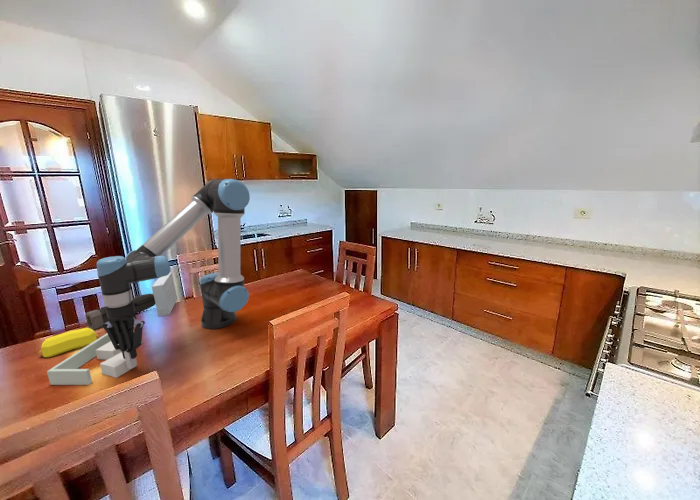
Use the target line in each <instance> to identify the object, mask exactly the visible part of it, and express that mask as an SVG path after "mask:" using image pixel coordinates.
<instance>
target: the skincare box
mask: <svg viewBox="0 0 700 500" xmlns="http://www.w3.org/2000/svg"><path fill="white" fill-rule="evenodd" d="M151 289H152V294H154V299H155V303H156V304H155V306H156V311H157V315H158V317H163V316H169V315H170V314H171V312H172V310H173V309H174V307H175V304H176V302H177V301H178V295H177V291H176V286H175V281H174V276H173V272H171V271H170V273H169V274H168V275H167V276H163V277H160V278H156V280H155V281H154V283H153V285H152V286H151Z"/></svg>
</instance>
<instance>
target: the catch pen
mask: <svg viewBox="0 0 700 500" xmlns="http://www.w3.org/2000/svg"><path fill="white" fill-rule="evenodd" d="M110 341H111V340H110V338H109V336H108V334H107V333H105V334H104V335H101V336H99V339H97V340H95V341H94V342H92V343H91V344H89V345H88V346H85V347H82V348H80V350H78V351H77V352H75V353H73V354H72V355H70V356H68V357H67V358H66V359H64V360H63V361H61V362H59V363H57V364H55V365H54V366H53V367H52V368H50V369H48V370H47V371H46V374H47V377H48V381H49V384H50V386H53V385H54V386H67V385H68V386H70V385H72V386H74V385H75V386H77V385H78V386H81V385H83V386H85V385H86V386H87V385H88V386H89V385H91V384H92V383H93V379H92V376H91V371H90V369H89V368H81V367H82V366H83V365H85V364H86V363H88V362H90V361H91V360H92V359H94V358H95V357H97V354H96V350H97V349H98V348H100V347H102V346H103V345H105V344H107V343H108V342H110ZM142 344H143V340H142V342H141V345H142Z"/></svg>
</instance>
